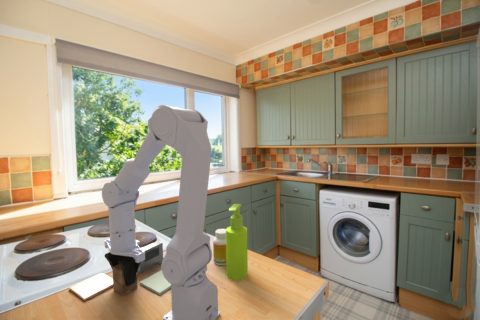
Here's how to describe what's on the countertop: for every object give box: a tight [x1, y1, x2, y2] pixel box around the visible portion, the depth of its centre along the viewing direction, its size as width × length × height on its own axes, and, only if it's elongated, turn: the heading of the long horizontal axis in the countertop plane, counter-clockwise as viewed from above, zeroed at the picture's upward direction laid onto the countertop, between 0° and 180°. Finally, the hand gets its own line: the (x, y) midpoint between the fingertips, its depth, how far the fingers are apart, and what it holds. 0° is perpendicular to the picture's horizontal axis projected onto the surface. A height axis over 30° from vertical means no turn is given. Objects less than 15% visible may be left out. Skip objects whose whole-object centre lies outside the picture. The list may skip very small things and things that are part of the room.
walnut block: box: [111, 264, 138, 296], centre depth 60 cm, size 4×4×6 cm
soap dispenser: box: [225, 203, 249, 282], centre depth 65 cm, size 6×7×20 cm
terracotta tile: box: [69, 272, 114, 302], centre depth 61 cm, size 8×8×1 cm
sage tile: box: [139, 269, 171, 296], centre depth 64 cm, size 8×8×1 cm
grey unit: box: [137, 240, 164, 275], centre depth 71 cm, size 3×8×6 cm, turn 147°
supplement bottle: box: [212, 228, 226, 266], centre depth 73 cm, size 5×5×10 cm
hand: (125, 280), depth 61 cm, fingers closed on walnut block, 4 cm apart
